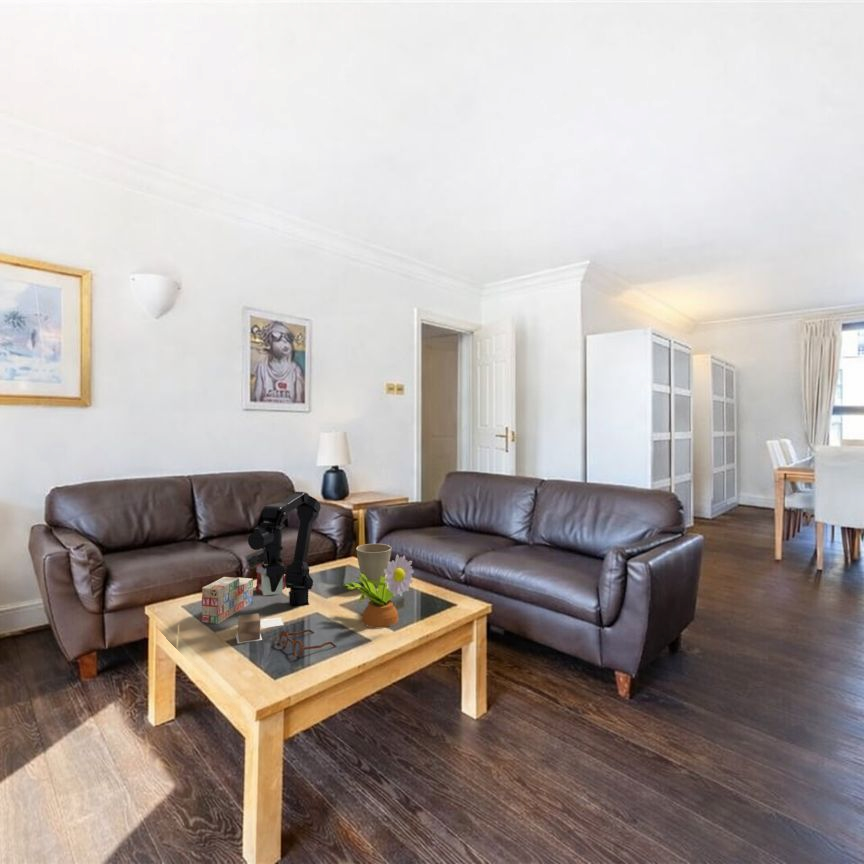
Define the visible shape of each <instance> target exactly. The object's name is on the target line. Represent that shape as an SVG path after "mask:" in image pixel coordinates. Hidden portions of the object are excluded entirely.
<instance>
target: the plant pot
mask: <svg viewBox="0 0 864 864" xmlns="http://www.w3.org/2000/svg"><path fill="white" fill-rule="evenodd" d="M355 549H356V556H357V562H358V563H357V564H358V568H359V571H360V574H364V575H365V577H366V578H367V580H373V581H378V582H380V579H381V575H382V577H386V576H387V574H385V573H384V569H387V566H389V565H388V561H390V560H391V556H392V546H390V545H388V544H384V543H367V544H361V545H358V546H357V547H356V548H355ZM390 562H391V561H390ZM361 578H363V577H361ZM363 579H364V578H363ZM364 580H365V581H366V579H364ZM366 582H367V581H366ZM372 584H373V583H372ZM373 585H374V587H375V588H378V587H379V585H377V584H373Z"/></svg>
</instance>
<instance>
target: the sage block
mask: <svg viewBox="0 0 864 864" xmlns="http://www.w3.org/2000/svg"><path fill="white" fill-rule="evenodd" d="M282 584H283V576H282V578H281V580H280V582H279V584H278V586H277V588H276V590H275V592H271V586H270V580H269V577H268V576H266V575H265V572H262V585H261V590H262V593H261V594H262V596H271V595H280V594H283V589H282Z"/></svg>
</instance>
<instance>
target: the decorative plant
mask: <svg viewBox="0 0 864 864" xmlns="http://www.w3.org/2000/svg"><path fill="white" fill-rule="evenodd" d="M412 564H413V561H412V560H409V561H408V559H406V555H403V556H399V554H398V553H397V554H396V556H395V560H394V559H393V560H391V561H388V566H387V569H384V573H385V574H386V575H385V577H382V575H381V579H380V582H378V581H373V580H367V578H366V577H365V575H364V574H361V573H359V576H357V577H355V578H357V580H359V581H361V583H362V584H363V586H362V585H361V584H360V583H357V582H353V581H351V582H349V583H346V584H344V583H342V586H347V589H348V590H355V589H358V590H359V591H360V592H361V595H360V598H359V600H358V602H357V603H358V604H360V603H362V601H364V600H365V599H366V598H367V599H368V601H369V602H368V603H367V606H366V607H365V609H364V610H363V613H362V617H361V623H362V622H363V623H364V624H363V623H362V624H363V625H365V626H367V625H368V626H367V627H370V626H371V628H375V627H385V628H387V627H386V626H390V627H392V626H391V625H393V624H395V623H397V622H398V620H399V621H400V618H399V612H398V610H397V608H396V607H395V606H394V602H393V601H392V600H391V599H392V598H393V597H397V595H399V596H400V597H402V596H403V593H405V592H409V590H410V589H409V587H411V584H413V582H414V581H413V579H412V578H413V575H412V574H414V572H415V571H414V569H413V566H412ZM362 577H363V578H364V579H366V581H367V582H366V581H365V580H364V579H363V578H362ZM372 583H373V584H377V585H379V587H374V585H373V584H372ZM365 597H366V598H365ZM398 623H399V622H398ZM398 623H397V624H398Z"/></svg>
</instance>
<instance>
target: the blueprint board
mask: <svg viewBox="0 0 864 864" xmlns="http://www.w3.org/2000/svg"><path fill="white" fill-rule="evenodd" d="M284 625H285V624H284V622H283V619H282V617H281V616H279V617H272V618H266V619H265V618H264V619H260V629H265V628H275V627H281V626H284ZM235 638H236V643H237V644H239V645H240V644H245V643H250V642H258V641H263V638H262V634H261V633H260V639H258V640H252V641H245V642H239V637H238V633H237V634H236V633H235Z"/></svg>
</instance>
